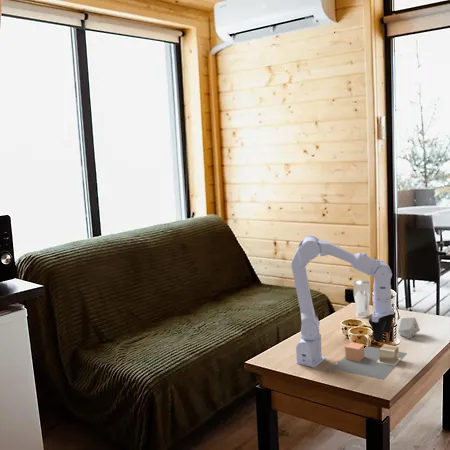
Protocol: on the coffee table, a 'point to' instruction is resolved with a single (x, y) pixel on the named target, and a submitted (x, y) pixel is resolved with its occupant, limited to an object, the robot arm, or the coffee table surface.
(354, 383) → the coffee table surface
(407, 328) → the die
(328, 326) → the coffee table surface
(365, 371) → the build mat
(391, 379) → the coffee table surface
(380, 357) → the birch block
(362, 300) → the beer glass
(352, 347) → the terracotta block
